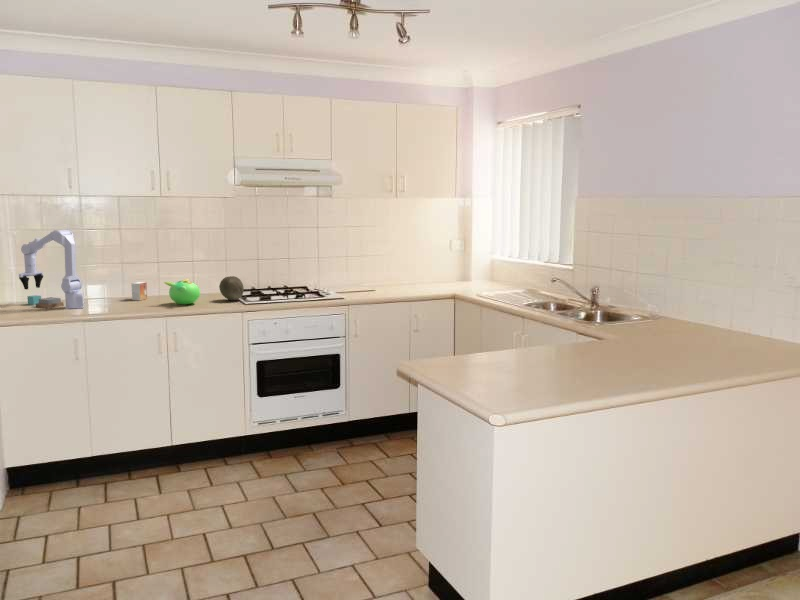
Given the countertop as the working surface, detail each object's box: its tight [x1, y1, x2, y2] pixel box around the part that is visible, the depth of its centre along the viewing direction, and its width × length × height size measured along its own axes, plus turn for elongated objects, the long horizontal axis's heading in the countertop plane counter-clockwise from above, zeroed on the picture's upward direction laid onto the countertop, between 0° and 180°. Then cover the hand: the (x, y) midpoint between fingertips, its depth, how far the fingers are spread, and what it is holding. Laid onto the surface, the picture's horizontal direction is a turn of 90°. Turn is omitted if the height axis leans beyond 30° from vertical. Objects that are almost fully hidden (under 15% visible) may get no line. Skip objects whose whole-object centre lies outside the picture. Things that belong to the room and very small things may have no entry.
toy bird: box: [163, 278, 201, 306], centre depth 400 cm, size 18×17×15 cm
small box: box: [131, 281, 148, 301], centre depth 415 cm, size 8×6×10 cm
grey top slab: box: [39, 296, 62, 305], centre depth 389 cm, size 8×8×2 cm
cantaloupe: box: [218, 275, 245, 302], centre depth 415 cm, size 14×14×15 cm
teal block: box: [27, 294, 42, 306], centre depth 395 cm, size 5×5×5 cm
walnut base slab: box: [35, 301, 65, 309], centre depth 390 cm, size 10×10×2 cm
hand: (32, 288), depth 392 cm, fingers open, 7 cm apart
